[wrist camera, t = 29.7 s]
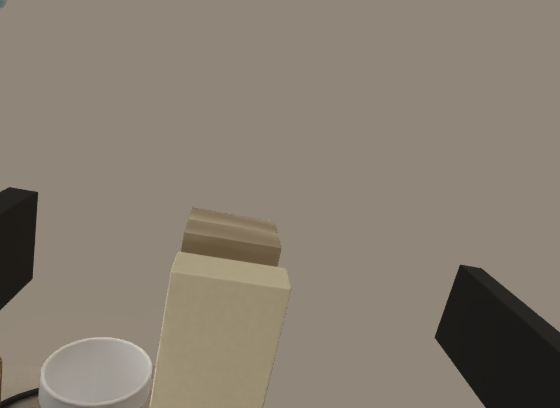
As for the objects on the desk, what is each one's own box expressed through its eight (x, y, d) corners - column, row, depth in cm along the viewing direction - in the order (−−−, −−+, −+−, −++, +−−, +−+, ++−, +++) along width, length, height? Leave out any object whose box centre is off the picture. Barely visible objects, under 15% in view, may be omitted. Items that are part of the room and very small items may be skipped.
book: (144, 457, 27) (177, 250, 23) (240, 465, 28) (286, 267, 24) (135, 494, 25) (170, 271, 21) (240, 502, 26) (291, 289, 22)
